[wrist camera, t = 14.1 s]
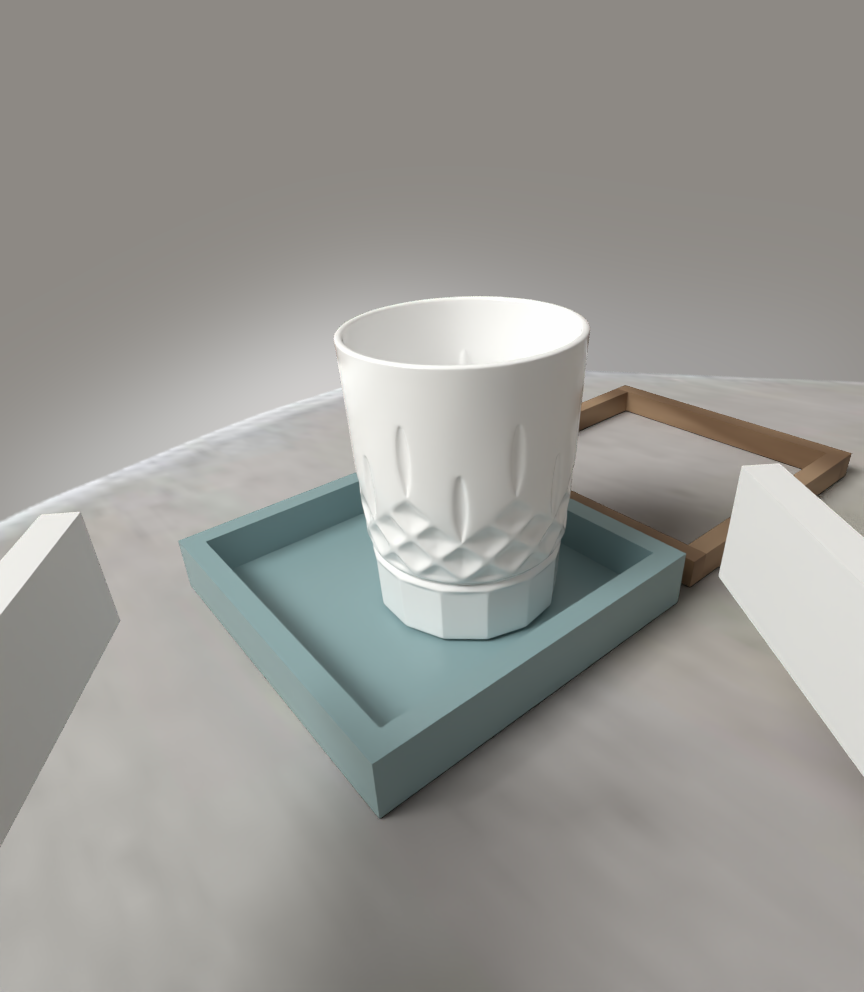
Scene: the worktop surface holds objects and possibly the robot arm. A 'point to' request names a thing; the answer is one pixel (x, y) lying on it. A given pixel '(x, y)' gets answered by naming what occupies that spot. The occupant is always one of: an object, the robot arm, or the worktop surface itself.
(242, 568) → the teal bin
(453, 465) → the white cup
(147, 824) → the worktop surface
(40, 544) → the robot arm
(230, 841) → the worktop surface
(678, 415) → the walnut frame
